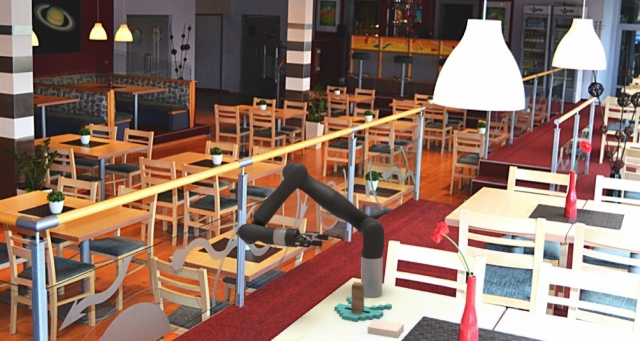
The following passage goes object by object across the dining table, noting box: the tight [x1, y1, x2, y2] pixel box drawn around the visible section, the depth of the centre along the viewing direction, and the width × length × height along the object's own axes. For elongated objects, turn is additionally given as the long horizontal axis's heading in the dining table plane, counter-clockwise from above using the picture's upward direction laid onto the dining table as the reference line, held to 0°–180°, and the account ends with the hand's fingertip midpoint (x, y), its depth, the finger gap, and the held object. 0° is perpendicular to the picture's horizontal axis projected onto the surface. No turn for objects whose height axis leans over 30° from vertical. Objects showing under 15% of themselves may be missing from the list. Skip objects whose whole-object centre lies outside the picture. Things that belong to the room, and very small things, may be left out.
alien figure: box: [333, 296, 393, 323], centre depth 338 cm, size 20×2×20 cm
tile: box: [367, 318, 405, 339], centre depth 318 cm, size 8×3×12 cm
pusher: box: [351, 281, 365, 314], centre depth 332 cm, size 4×4×12 cm
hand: (325, 240), depth 326 cm, fingers open, 8 cm apart
